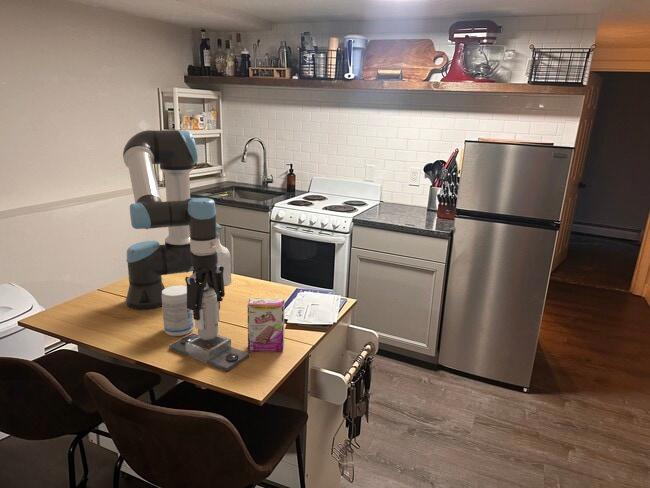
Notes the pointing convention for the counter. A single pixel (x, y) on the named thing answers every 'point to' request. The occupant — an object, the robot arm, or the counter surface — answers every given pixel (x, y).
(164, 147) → the robot arm
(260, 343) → the candy bar box
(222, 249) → the soap bottle
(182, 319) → the supplement tub
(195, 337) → the grey base plate
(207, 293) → the energy drink can
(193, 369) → the counter surface
